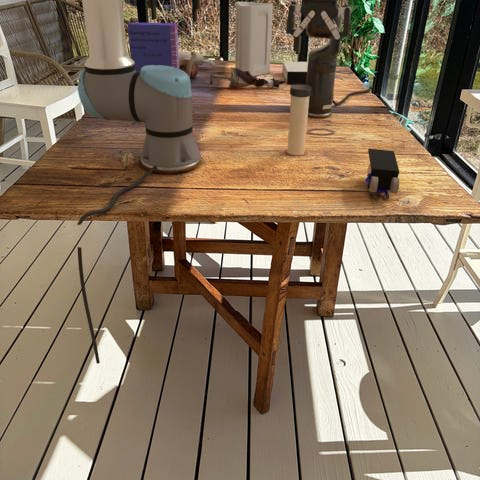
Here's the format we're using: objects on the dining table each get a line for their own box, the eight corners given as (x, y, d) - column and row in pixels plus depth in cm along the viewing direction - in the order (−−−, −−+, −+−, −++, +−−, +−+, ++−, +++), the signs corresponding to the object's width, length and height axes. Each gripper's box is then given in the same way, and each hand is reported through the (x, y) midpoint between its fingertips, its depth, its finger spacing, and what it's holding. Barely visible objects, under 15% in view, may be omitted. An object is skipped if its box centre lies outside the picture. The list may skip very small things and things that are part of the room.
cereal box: (180, 88, 189) (177, 22, 177) (178, 91, 185) (174, 24, 173) (137, 87, 190) (130, 21, 178) (134, 90, 186) (127, 23, 173)
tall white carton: (273, 76, 210) (276, 6, 196) (239, 77, 209) (240, 6, 194) (266, 67, 226) (268, 2, 212) (235, 67, 225) (235, 1, 210)
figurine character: (397, 209, 105) (389, 175, 117) (404, 179, 101) (395, 147, 112) (366, 207, 106) (361, 173, 118) (371, 177, 101) (366, 145, 113)
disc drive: (287, 84, 198) (287, 71, 196) (281, 72, 218) (282, 61, 215) (329, 84, 199) (330, 72, 196) (320, 72, 218) (321, 61, 216)
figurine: (210, 87, 179) (288, 95, 182) (212, 65, 176) (291, 73, 180) (208, 84, 201) (278, 91, 205) (210, 64, 198) (280, 71, 202)
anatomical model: (190, 85, 210) (181, 86, 196) (175, 71, 209) (165, 71, 195) (208, 63, 206) (200, 61, 191) (193, 48, 205) (184, 46, 191)
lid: (315, 95, 122) (315, 88, 121) (297, 97, 120) (297, 90, 119) (303, 90, 126) (303, 83, 125) (285, 92, 124) (286, 85, 123)
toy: (170, 75, 210) (169, 59, 206) (146, 65, 227) (145, 49, 223) (217, 69, 221) (217, 53, 218) (191, 60, 239) (191, 45, 235)
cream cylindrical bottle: (307, 153, 130) (313, 90, 121) (293, 156, 128) (298, 92, 119) (298, 148, 134) (303, 86, 125) (283, 150, 132) (288, 87, 123)
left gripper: (214, -58, 143) (215, 20, 153) (135, -59, 146) (141, 17, 157) (207, -58, 136) (209, 23, 147) (125, -59, 140) (133, 20, 151)
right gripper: (357, -24, 105) (347, 54, 113) (293, -26, 108) (289, 50, 117) (354, -23, 99) (344, 60, 107) (286, -25, 102) (282, 55, 111)
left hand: (174, 20), depth 152 cm, fingers open, 13 cm apart
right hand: (315, 54), depth 112 cm, fingers open, 8 cm apart
